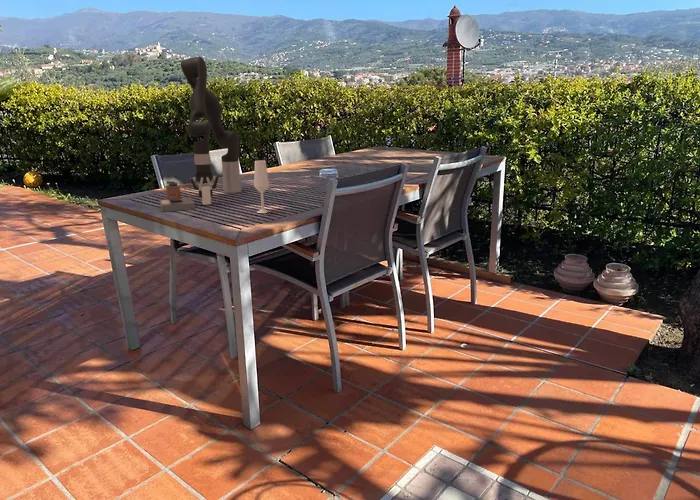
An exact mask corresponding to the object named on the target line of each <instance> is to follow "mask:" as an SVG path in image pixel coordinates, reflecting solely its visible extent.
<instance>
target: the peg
mask: <svg viewBox="0 0 700 500" xmlns="http://www.w3.org/2000/svg"><path fill="white" fill-rule="evenodd" d="M201 191H202V198H201V204H202V205H203V206H205V205H212V197H211V195H210V186H209V185H208V184H202V187H201Z"/></svg>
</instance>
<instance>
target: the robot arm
mask: <svg viewBox="0 0 700 500" xmlns="http://www.w3.org/2000/svg"><path fill="white" fill-rule="evenodd" d="M180 68H181V71H182V73H183V75H184V77H185V79H186V81H187V83H188V84H189V86H190V87H191V89H192V90H193V91H192V93H191V96H190V99H189V101H190V102H189V105H190V117H189V121H188V125H187V131H188V134H189V135H190V136H192V137H203V138H202V139H200V140H197V141H194V142H193V152H194V155H193V156H194V157H193V159H194V169H195V175H194V176H193V177H190V178H189V180H190V182H191V184H192V186H193V189H194V190H196V191H198V197H199V198H200V199H202V191H201V187H202V185H209V186H210V195H211V198H212V197H213V196H214V193H213V192H214V191H213V190H214V189H216V188H217V185H218V181H219V177H218V176H217V175H213V173H212V160H211V155H210V145H209V144H210V143H209V141H210V136H211V135H210V134H211V130H212V132H213V135H214V138H215V141H216V142H217V145H218V146H219V147H220V148H222V149H227V152H226V153H225V154H222V155H221V158H220V159H221V166H222V167H221V169H222V180H223V181H222V182H223V183H222V184H223V192H224V193H226V194H236V193H238V194H239V193H242V192H243V191H242V179H241V177H242V175H241V174H240V173H241V172H240V163H239V162H240V161H239V160H240V153H241V151H240V138H239V135H238V133H237V132H236V131H233V130H231V131H229V130H225V128H224V127H223V124H222V121H221V120H222V116H223V110H222V106H221V104H220V101H219V99H218V97H217V95H215V93H213V92H212V91H210V90H209V89H208V88H206V87H207V76H208V68H207V64H206V61H205V59H204V58H203V57H202V56H193V57H190V58H185V59H182V60H181V62H180ZM205 117H206V119H207V120H199V119H203V118H205ZM212 179H213V184H212V183H211V181H212ZM196 181H197V182H198V186H197V185H196Z"/></svg>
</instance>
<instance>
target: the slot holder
mask: <svg viewBox="0 0 700 500" xmlns="http://www.w3.org/2000/svg"><path fill="white" fill-rule="evenodd" d="M159 207H160V210H161V213H166V212H168V213H170V212H179V211H191V210H195V209H196V208H195V202H194V200H193V199H192V196H191V197H181V198H177V199H167V198H166V199H165V198H164V199H159Z"/></svg>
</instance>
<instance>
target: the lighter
mask: <svg viewBox="0 0 700 500" xmlns="http://www.w3.org/2000/svg"><path fill="white" fill-rule="evenodd" d="M166 184H167V185H165V189H166V197H167V198H166V199H177V198H182V197H181V190H180V189H181V186H180V185H178V181H175V180H172V181H171V180H167V181H166Z"/></svg>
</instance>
